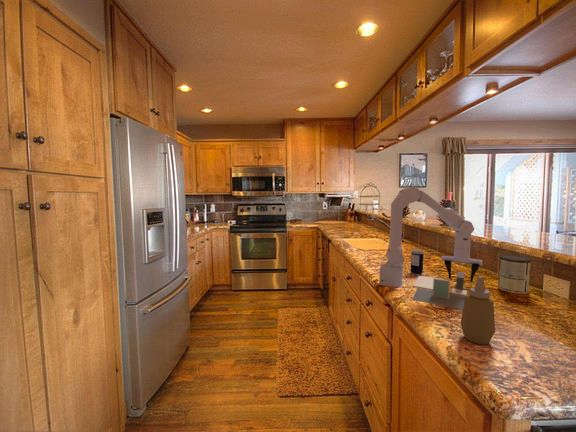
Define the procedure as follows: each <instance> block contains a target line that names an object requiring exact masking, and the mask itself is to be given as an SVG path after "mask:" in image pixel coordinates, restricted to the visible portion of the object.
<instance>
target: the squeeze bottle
mask: <svg viewBox="0 0 576 432" xmlns="http://www.w3.org/2000/svg"><path fill="white" fill-rule="evenodd" d="M485 285H486V284H485V280H484V277H482V276H477V279H476V282H475V285H474V286H473V287H470V288H469V294H467V296H465V302H464V307H463V310H462V314H461V319H460V326H461V330H462V333H463V337H464V338H465V339H466V340H467V341H469V342H470V343H474V344H478V345H488V344H490V342H491V340H492V338H493V337H494V335H495V333H496V323H495V321H496V320H495V306H494V304H495V303H494V301H493V299H491V298H490V297H491V292H490V290H488V289H486V286H485Z"/></svg>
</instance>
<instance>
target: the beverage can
mask: <svg viewBox="0 0 576 432" xmlns="http://www.w3.org/2000/svg"><path fill="white" fill-rule="evenodd" d="M424 254H425V253H424V251H423V250H421V249H412V250H411V253H410V273H411V274H412V275H415V276H422V274H423V272H424V256H425V255H424Z"/></svg>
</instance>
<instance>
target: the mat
mask: <svg viewBox="0 0 576 432" xmlns="http://www.w3.org/2000/svg"><path fill="white" fill-rule="evenodd" d="M411 300H412V301H416V302H422V303H426V304H431V305H437V306H441V307H446V308H451V309H456V310H461V311H463V307H464V302H465V296H463V295H458V294H452V293H449V299H447V298H442V297H436V296H433V290H429V289H423V288H418V287H417V289H416V291H415V293H414V294H413V296H412V298H411Z"/></svg>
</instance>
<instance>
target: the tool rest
mask: <svg viewBox="0 0 576 432" xmlns="http://www.w3.org/2000/svg"><path fill="white" fill-rule="evenodd" d="M434 278H435V277H430V276H425V275H418V276H417V279H416V280H415V282H414V283H413V285H412V287H414V288H417V289H418V288H420V289H426V290H431V291H433V280H434Z"/></svg>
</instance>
